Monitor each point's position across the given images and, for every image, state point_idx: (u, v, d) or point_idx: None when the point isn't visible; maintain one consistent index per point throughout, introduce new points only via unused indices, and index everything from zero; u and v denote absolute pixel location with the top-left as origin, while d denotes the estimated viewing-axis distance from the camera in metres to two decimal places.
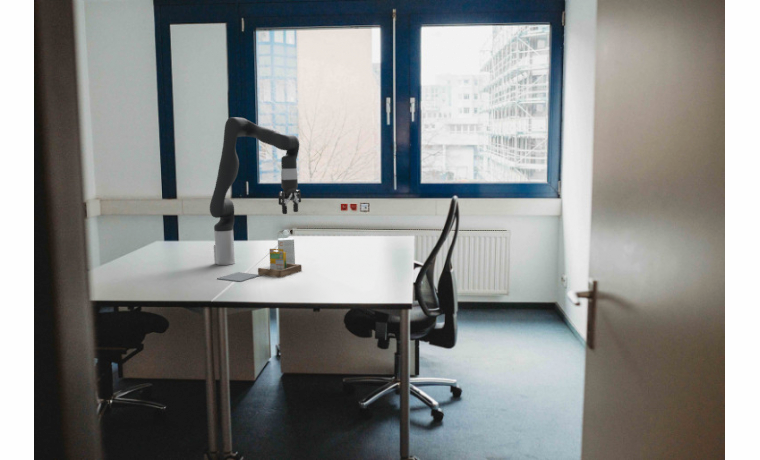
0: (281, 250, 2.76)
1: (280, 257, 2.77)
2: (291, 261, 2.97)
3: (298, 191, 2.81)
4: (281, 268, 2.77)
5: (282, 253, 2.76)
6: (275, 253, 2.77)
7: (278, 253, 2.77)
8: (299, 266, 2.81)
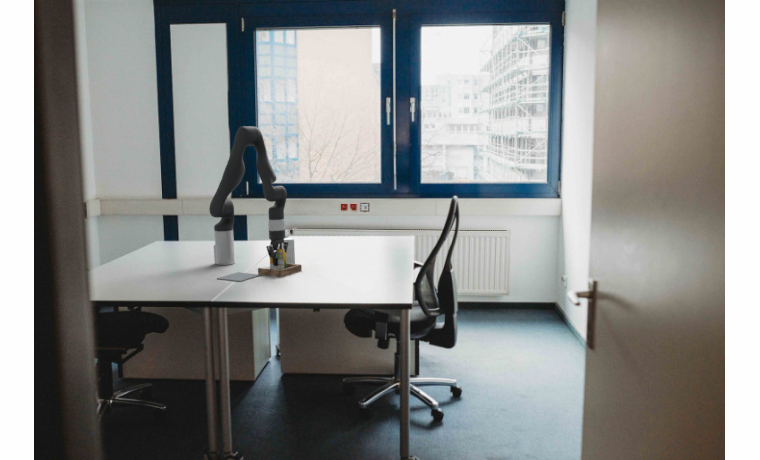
0: (281, 250, 2.76)
1: (280, 257, 2.77)
2: (291, 261, 2.97)
3: (286, 243, 2.82)
4: (281, 268, 2.77)
5: (282, 253, 2.76)
6: None
7: (278, 253, 2.77)
8: (299, 266, 2.81)
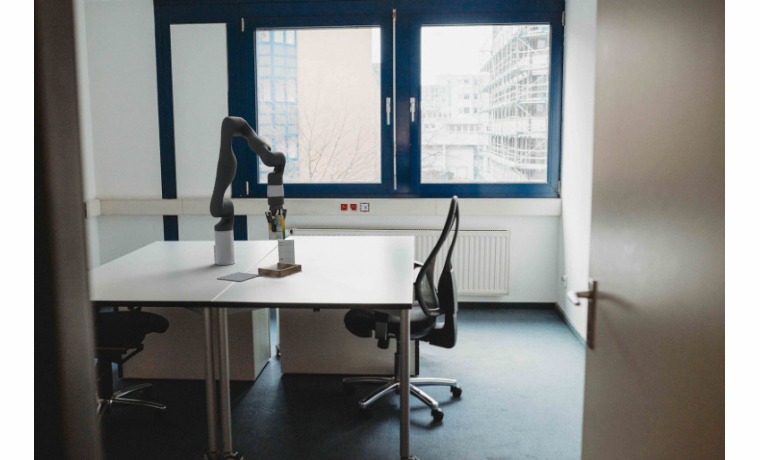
0: (279, 216, 2.74)
1: (279, 224, 2.74)
2: (291, 261, 2.97)
3: (284, 210, 2.80)
4: (279, 235, 2.75)
5: (280, 219, 2.74)
6: None
7: None
8: (299, 266, 2.81)
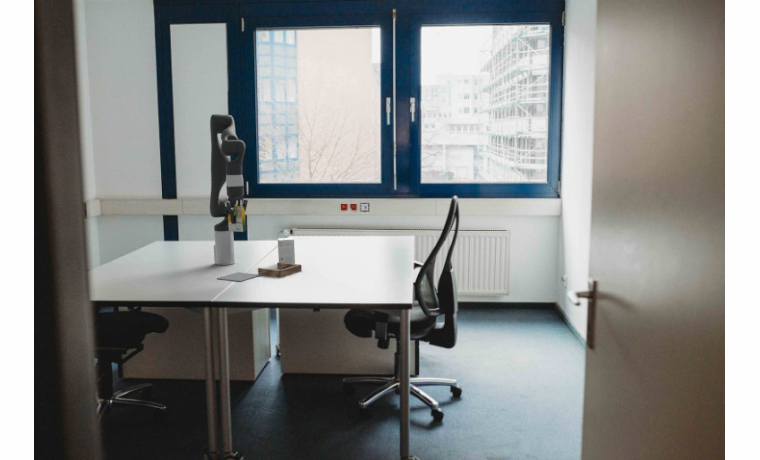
0: (239, 207, 2.64)
1: (238, 215, 2.65)
2: (291, 261, 2.97)
3: (245, 200, 2.70)
4: (239, 226, 2.65)
5: (240, 210, 2.64)
6: None
7: (236, 210, 2.65)
8: (299, 266, 2.81)
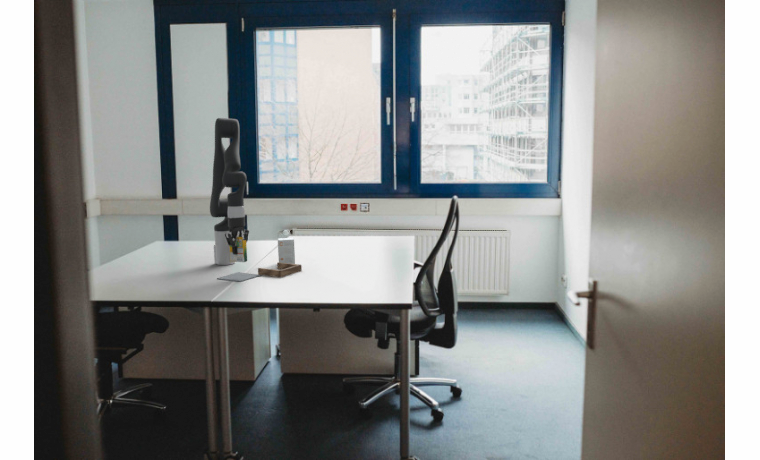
0: (240, 238, 2.66)
1: (240, 245, 2.66)
2: (291, 261, 2.97)
3: (246, 231, 2.72)
4: (241, 257, 2.67)
5: (241, 241, 2.66)
6: (234, 241, 2.67)
7: (237, 241, 2.67)
8: (299, 266, 2.81)
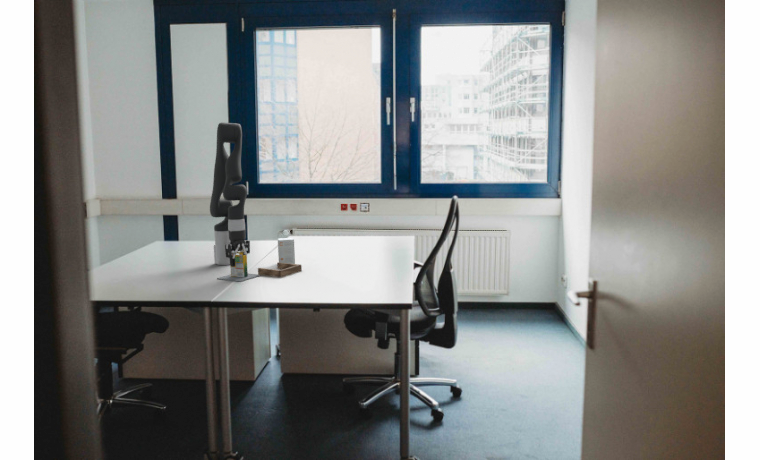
0: (241, 253, 2.67)
1: (240, 261, 2.67)
2: (291, 261, 2.97)
3: (247, 242, 2.73)
4: (241, 272, 2.68)
5: (242, 256, 2.67)
6: (235, 256, 2.68)
7: (238, 256, 2.68)
8: (299, 266, 2.81)
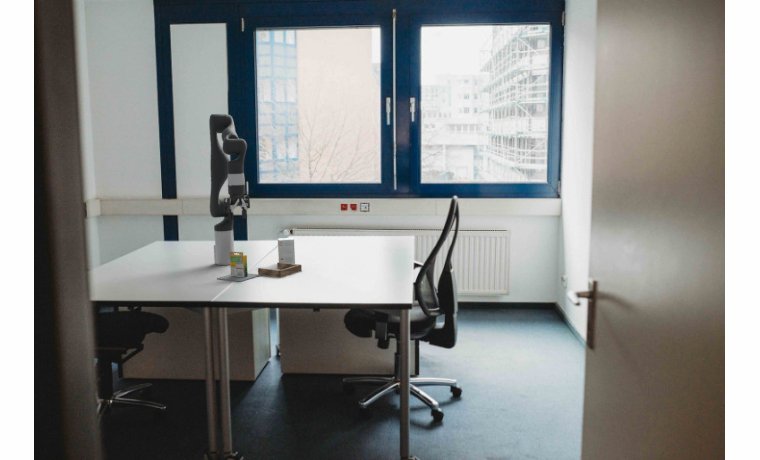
0: (241, 253, 2.67)
1: (240, 261, 2.67)
2: (291, 261, 2.97)
3: (247, 197, 2.72)
4: (241, 272, 2.68)
5: (242, 256, 2.67)
6: (235, 256, 2.68)
7: (238, 256, 2.68)
8: (299, 266, 2.81)
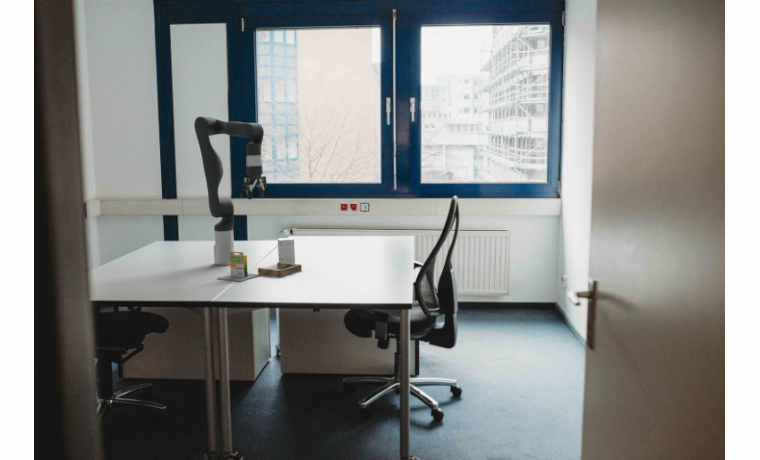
0: (241, 253, 2.67)
1: (240, 261, 2.67)
2: (291, 261, 2.97)
3: (264, 177, 2.91)
4: (241, 272, 2.68)
5: (242, 256, 2.67)
6: (235, 256, 2.68)
7: (238, 256, 2.68)
8: (299, 266, 2.81)
